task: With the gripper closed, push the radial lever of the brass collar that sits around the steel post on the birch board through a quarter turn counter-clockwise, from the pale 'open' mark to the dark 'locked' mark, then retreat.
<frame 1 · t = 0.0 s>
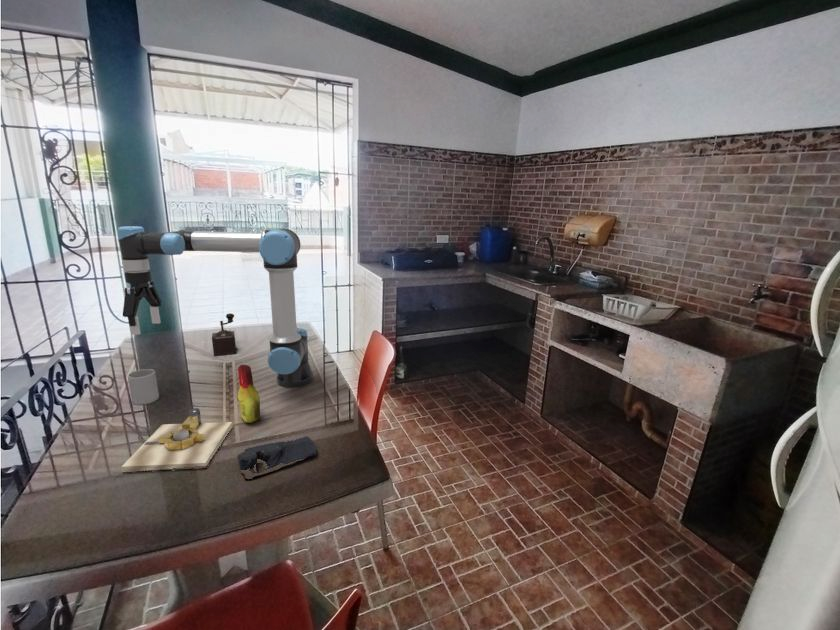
hand: (146, 328, 143), 28 cm above the table, fingers open, 13 cm apart
mug: (147, 398, 150), on the table
collar: (186, 427, 122), point 5 cm above the table, hinge at 0.0°
coffee grinder: (225, 350, 201), on the table
dark slate chunk: (278, 458, 117), on the table
bottle: (250, 418, 138), on the table
post board: (183, 447, 120), on the table
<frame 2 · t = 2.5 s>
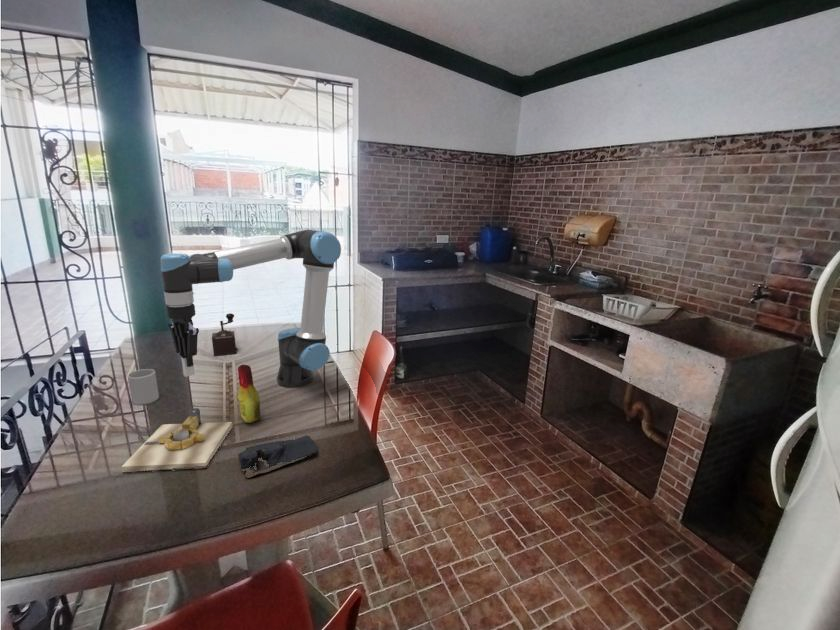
hand: (189, 374, 126), 19 cm above the table, fingers closed
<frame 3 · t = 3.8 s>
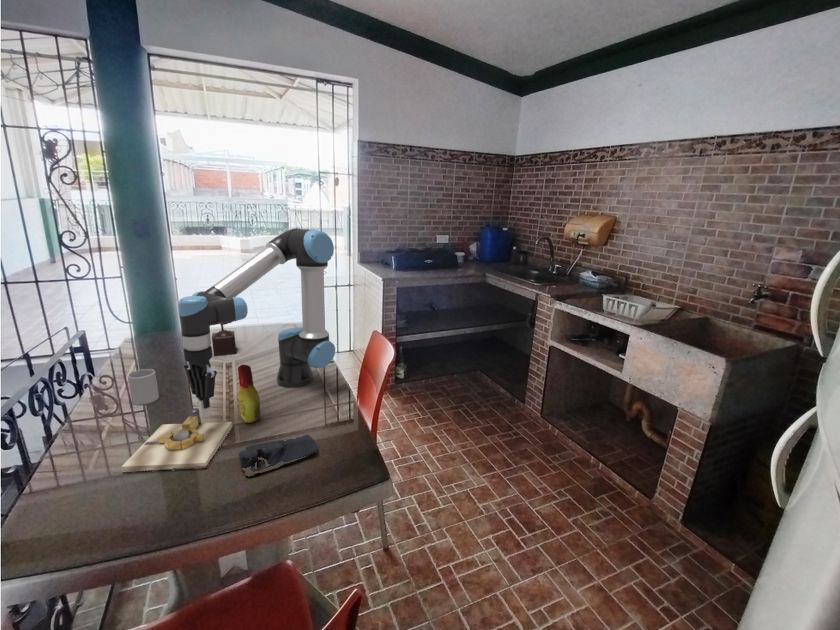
hand: (205, 416, 125), 7 cm above the table, fingers closed
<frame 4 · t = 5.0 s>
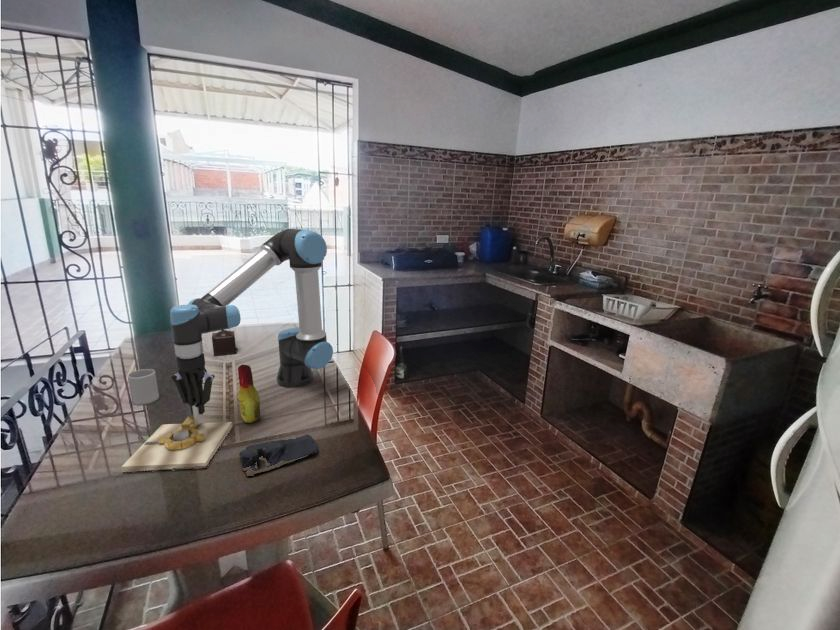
hand: (199, 422, 127), 4 cm above the table, fingers closed
collar: (186, 427, 122), point 5 cm above the table, hinge at 1.6°, touching gripper
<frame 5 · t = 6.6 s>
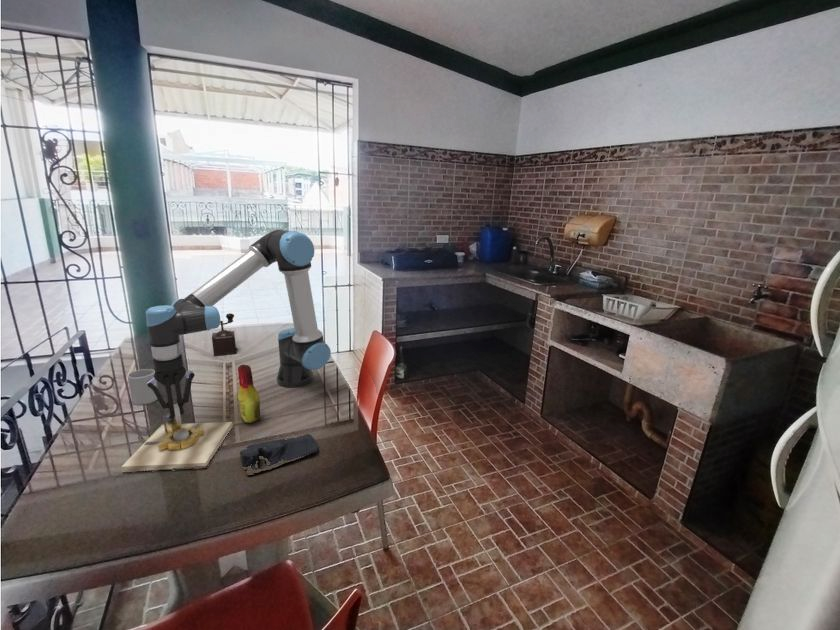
hand: (178, 424, 126), 4 cm above the table, fingers closed
collar: (176, 429, 121), point 5 cm above the table, hinge at 42.8°, touching gripper
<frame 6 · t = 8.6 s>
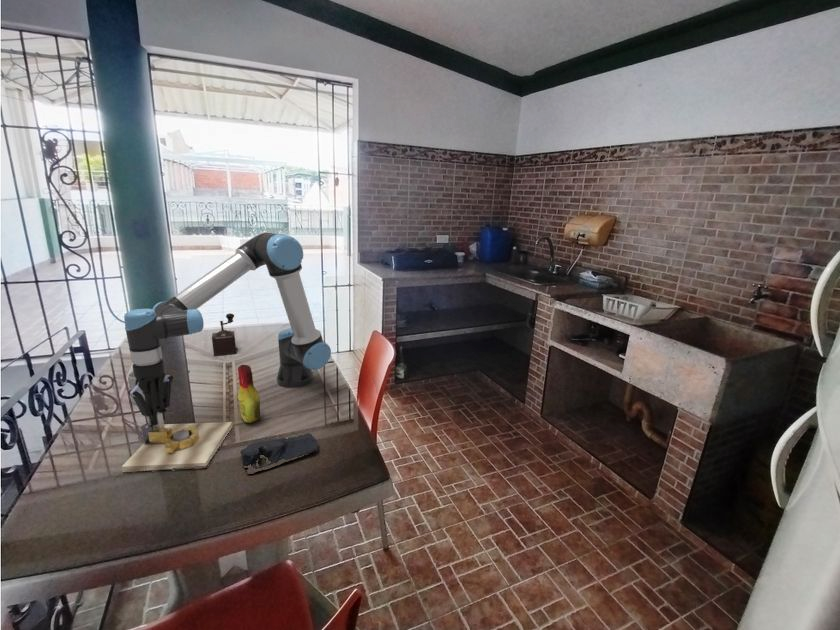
hand: (159, 431, 121), 4 cm above the table, fingers closed
collar: (169, 433, 119), point 5 cm above the table, hinge at 83.1°, touching gripper
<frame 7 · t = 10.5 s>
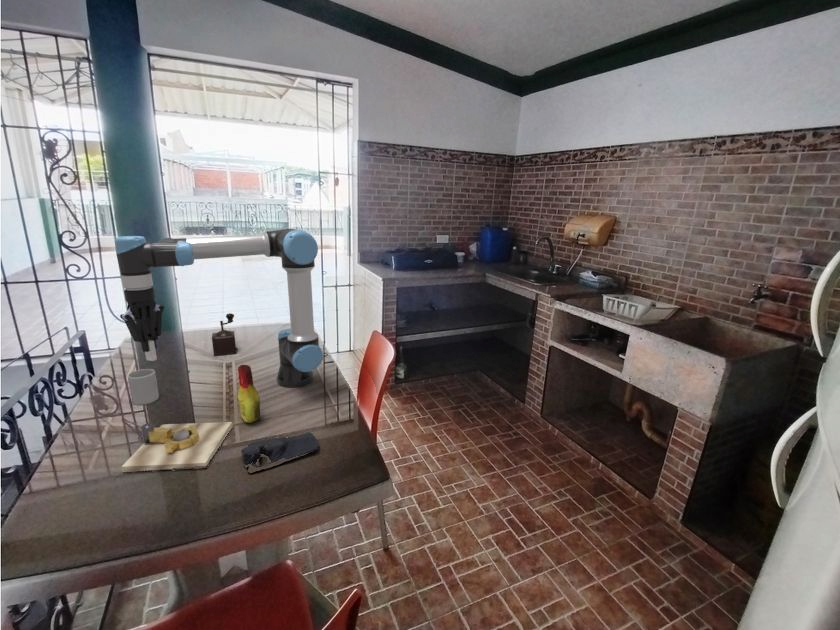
hand: (151, 359, 125), 24 cm above the table, fingers closed
collar: (169, 433, 119), point 5 cm above the table, hinge at 82.5°
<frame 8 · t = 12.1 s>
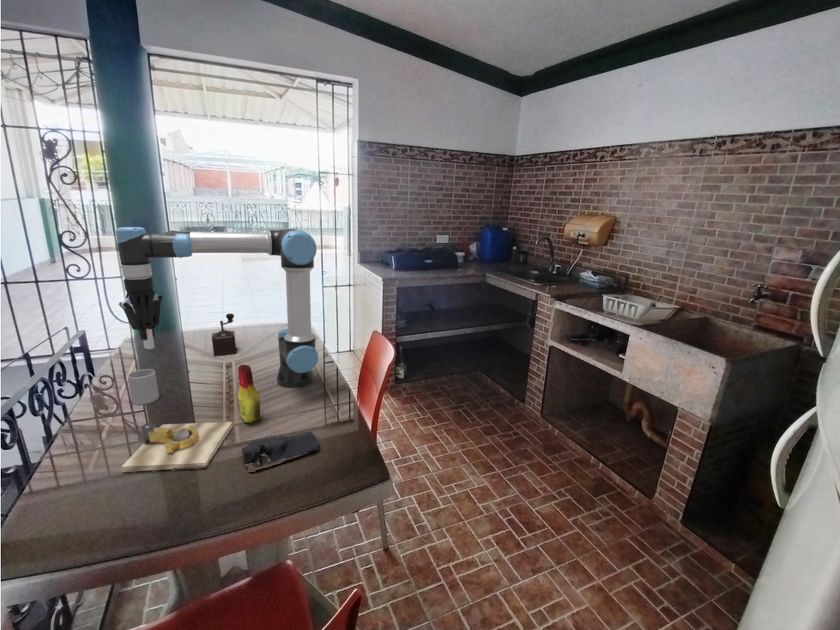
hand: (149, 347, 129), 26 cm above the table, fingers closed
at the end: collar at +82° (first picture: +0°); the gripper is holding nothing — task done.
